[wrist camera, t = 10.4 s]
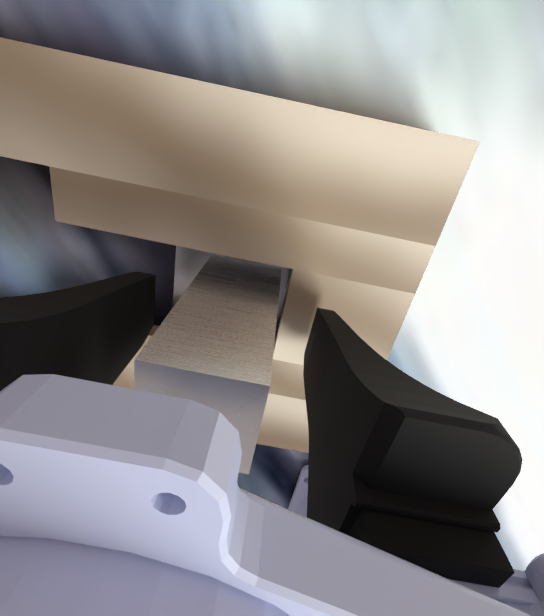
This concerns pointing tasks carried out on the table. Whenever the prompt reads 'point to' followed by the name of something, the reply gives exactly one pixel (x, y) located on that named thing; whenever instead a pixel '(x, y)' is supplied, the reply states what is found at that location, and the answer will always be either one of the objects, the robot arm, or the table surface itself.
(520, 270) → the table surface
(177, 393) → the keyhole key
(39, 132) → the keyhole plate
